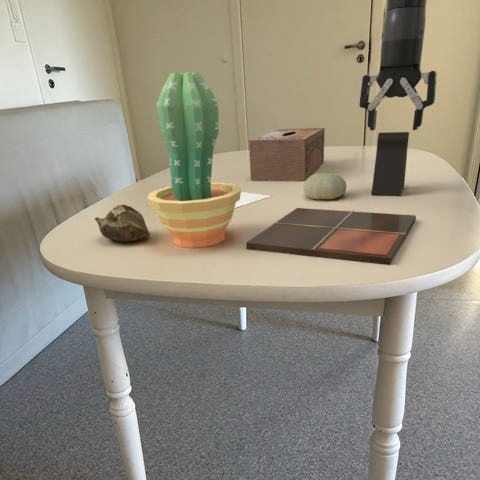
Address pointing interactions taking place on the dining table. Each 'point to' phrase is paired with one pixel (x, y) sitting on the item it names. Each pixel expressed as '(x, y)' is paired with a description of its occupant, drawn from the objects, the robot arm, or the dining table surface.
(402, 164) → the phone stand
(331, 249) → the board
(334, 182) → the sea urchin shell
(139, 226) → the fossilized seashell
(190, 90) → the potted cactus
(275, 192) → the dining table surface
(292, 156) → the tissue box cover
